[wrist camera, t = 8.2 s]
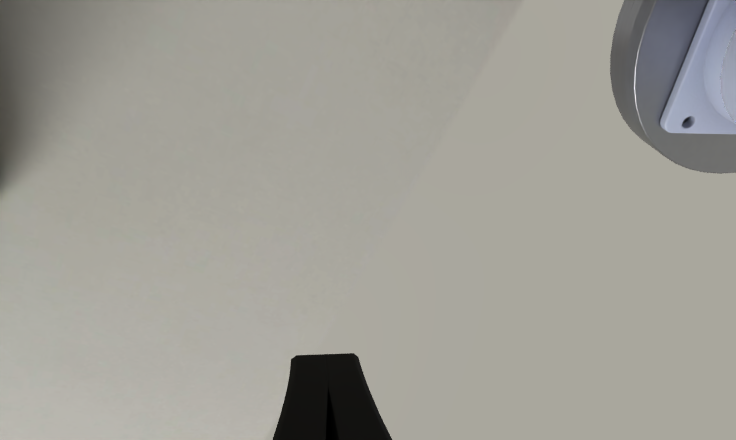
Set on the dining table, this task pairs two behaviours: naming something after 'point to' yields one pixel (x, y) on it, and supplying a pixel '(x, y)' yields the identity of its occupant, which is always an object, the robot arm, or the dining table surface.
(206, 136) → the dining table surface
